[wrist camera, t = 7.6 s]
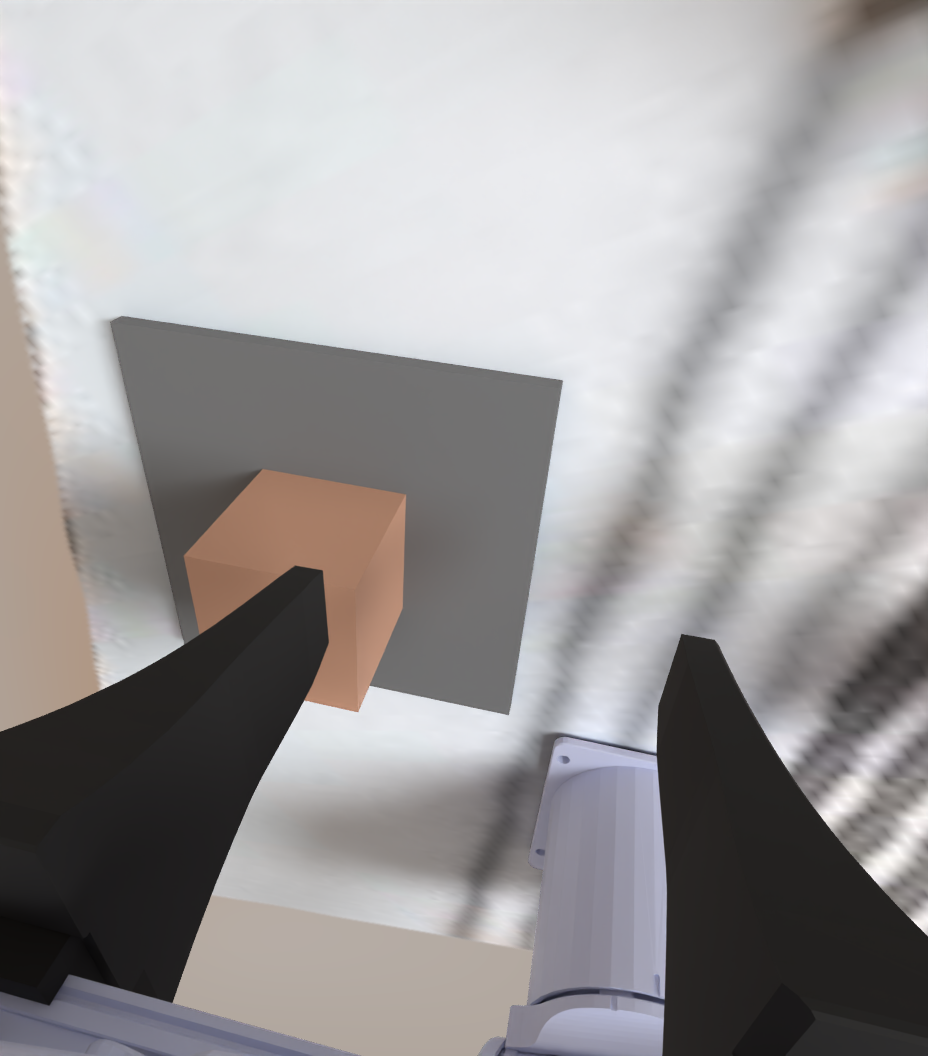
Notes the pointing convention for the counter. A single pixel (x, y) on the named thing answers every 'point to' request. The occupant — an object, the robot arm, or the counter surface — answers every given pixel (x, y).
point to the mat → (360, 476)
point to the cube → (314, 542)
